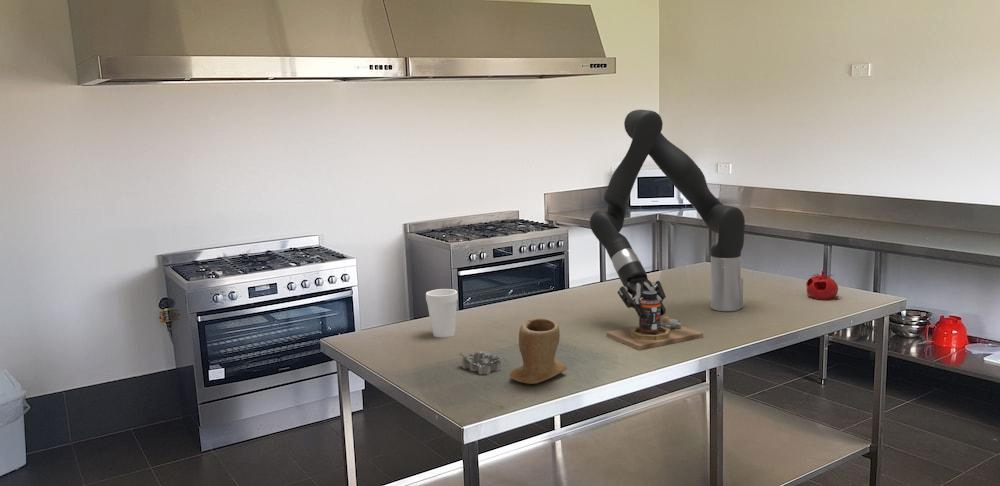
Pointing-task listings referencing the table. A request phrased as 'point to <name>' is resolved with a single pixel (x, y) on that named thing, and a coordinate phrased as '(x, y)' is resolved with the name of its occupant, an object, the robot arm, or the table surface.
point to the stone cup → (538, 351)
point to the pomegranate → (821, 287)
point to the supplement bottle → (650, 313)
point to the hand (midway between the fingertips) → (653, 315)
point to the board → (655, 335)
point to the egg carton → (482, 362)
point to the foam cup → (442, 311)
